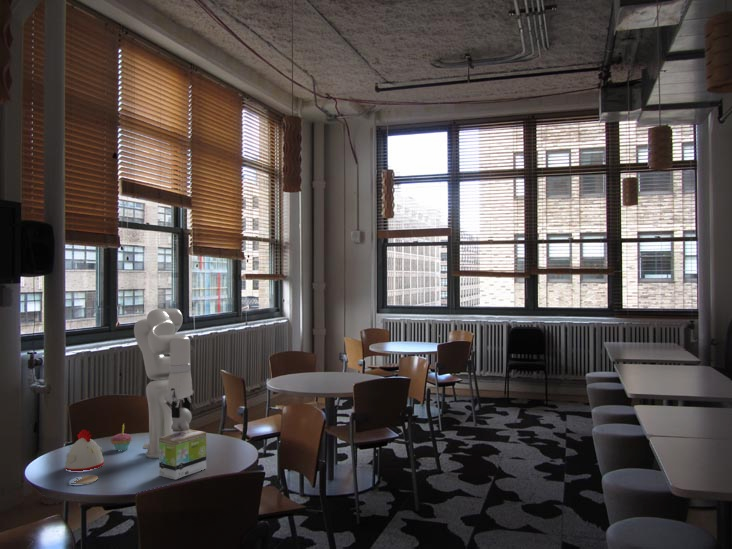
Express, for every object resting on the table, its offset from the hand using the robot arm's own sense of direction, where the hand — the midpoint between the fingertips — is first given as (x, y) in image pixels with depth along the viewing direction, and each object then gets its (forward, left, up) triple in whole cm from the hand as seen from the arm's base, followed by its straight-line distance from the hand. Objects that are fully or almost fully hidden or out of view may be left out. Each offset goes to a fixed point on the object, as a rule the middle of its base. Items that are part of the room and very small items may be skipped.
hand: (181, 415), depth 228 cm
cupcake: (-45, +21, -22) cm, 54 cm away
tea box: (+1, 0, -22) cm, 22 cm away
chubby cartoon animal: (0, +1, -6) cm, 6 cm away
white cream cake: (-43, -3, -22) cm, 48 cm away
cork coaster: (-31, -17, -22) cm, 42 cm away
